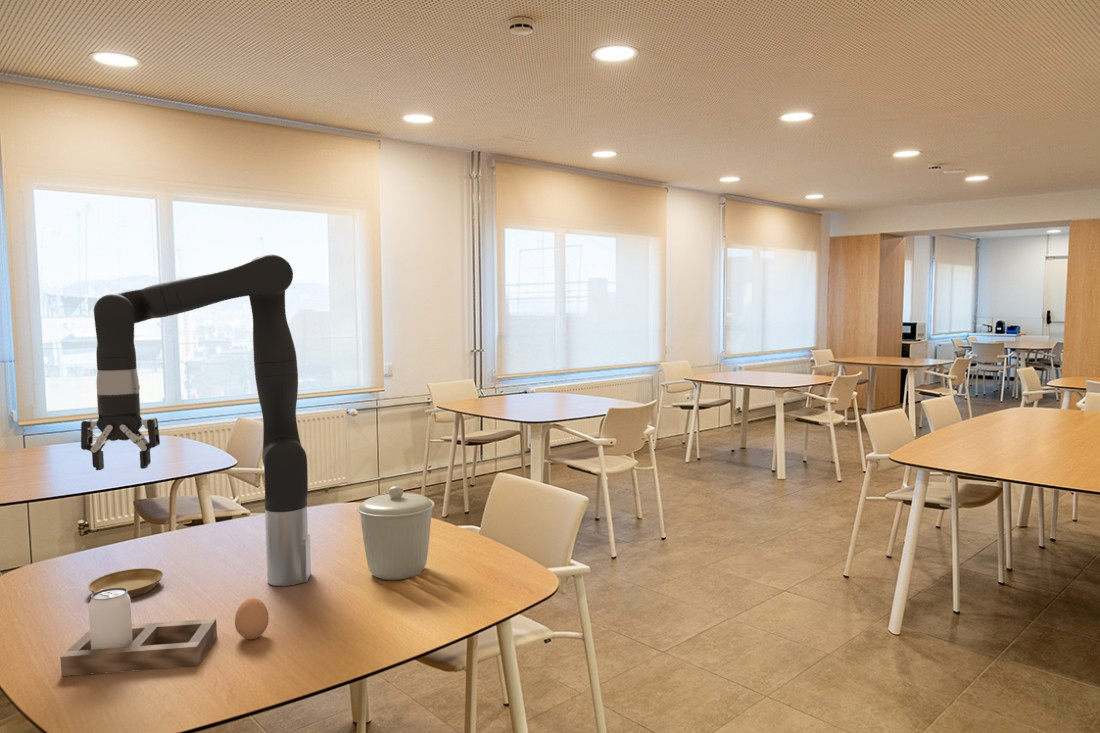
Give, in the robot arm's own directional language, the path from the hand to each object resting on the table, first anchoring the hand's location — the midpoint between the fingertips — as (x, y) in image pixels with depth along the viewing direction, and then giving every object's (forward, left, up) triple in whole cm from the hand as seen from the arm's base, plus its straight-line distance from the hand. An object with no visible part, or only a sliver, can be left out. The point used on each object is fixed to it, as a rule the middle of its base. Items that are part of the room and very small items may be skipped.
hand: (122, 468), depth 152 cm
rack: (-11, +23, -30) cm, 39 cm away
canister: (-55, -12, -30) cm, 64 cm away
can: (-6, +23, -30) cm, 38 cm away
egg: (-29, +19, -30) cm, 46 cm away
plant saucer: (+5, -12, -30) cm, 33 cm away
